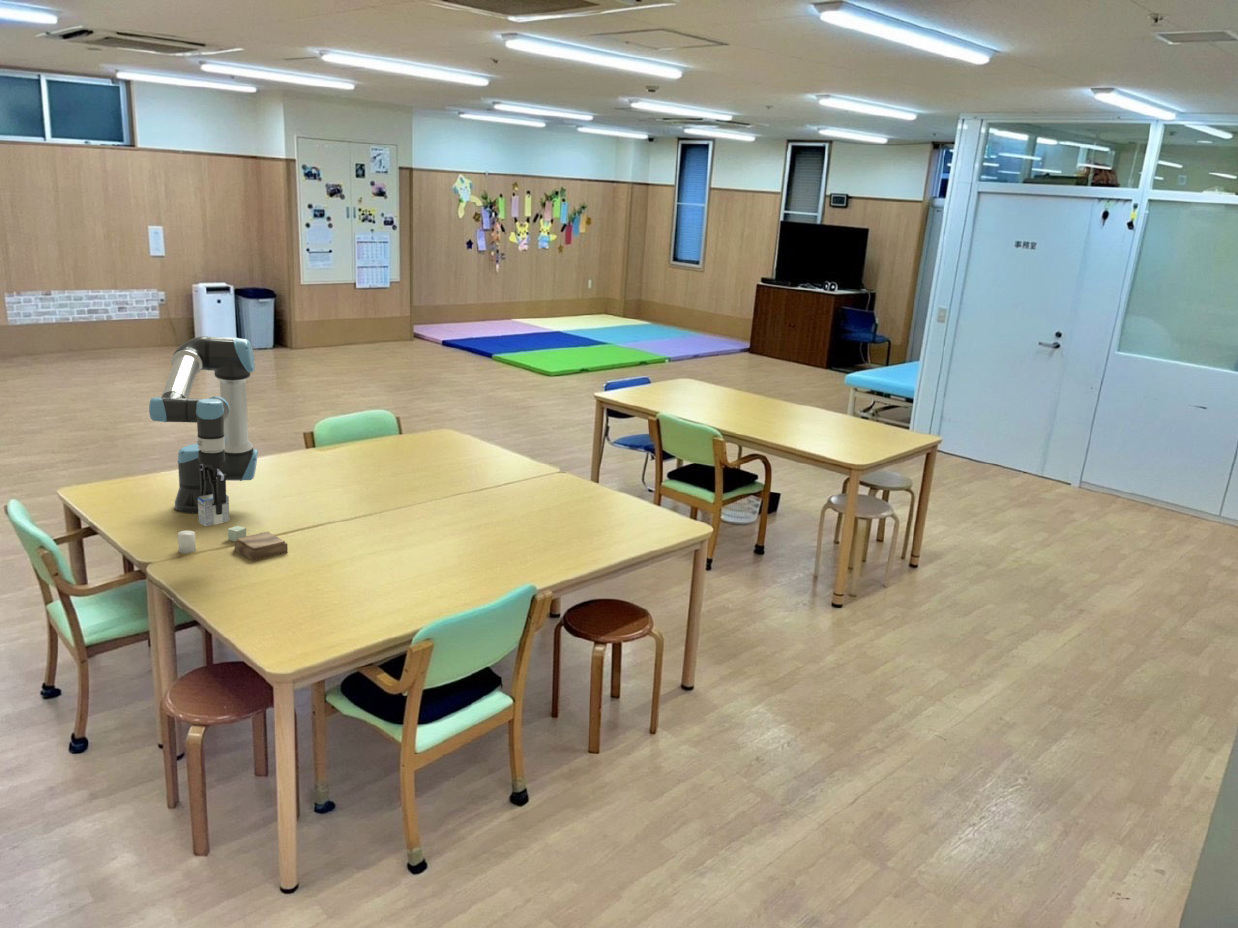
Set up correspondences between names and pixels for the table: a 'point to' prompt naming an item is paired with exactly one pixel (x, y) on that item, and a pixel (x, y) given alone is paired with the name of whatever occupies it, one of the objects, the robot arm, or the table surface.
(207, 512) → the medicine box
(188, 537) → the white rounded capsule
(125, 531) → the table surface
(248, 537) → the podium
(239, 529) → the sage block
